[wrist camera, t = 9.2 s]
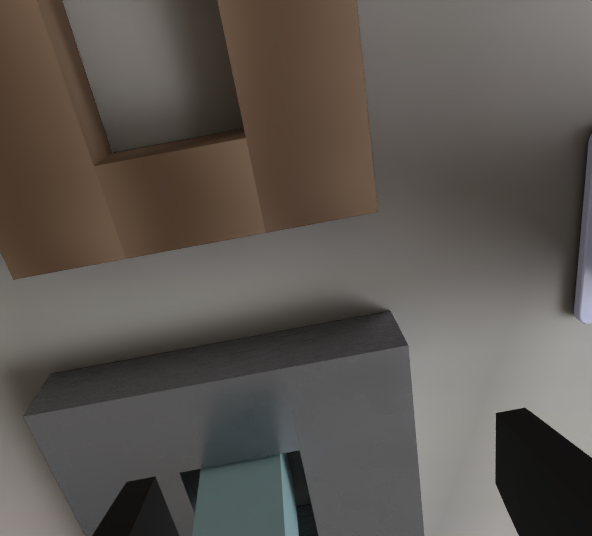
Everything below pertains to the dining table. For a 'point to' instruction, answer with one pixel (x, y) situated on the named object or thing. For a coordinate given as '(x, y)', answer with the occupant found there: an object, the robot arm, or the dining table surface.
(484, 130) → the dining table surface
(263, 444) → the port plate
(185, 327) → the dining table surface
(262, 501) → the plug
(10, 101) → the brown square frame
